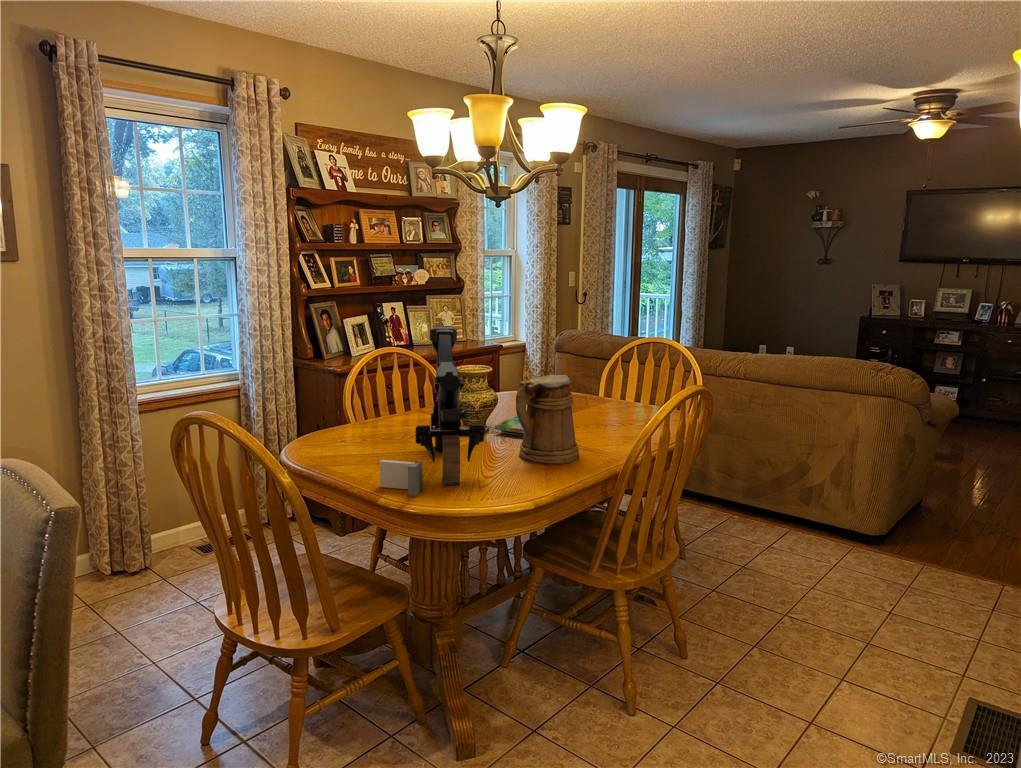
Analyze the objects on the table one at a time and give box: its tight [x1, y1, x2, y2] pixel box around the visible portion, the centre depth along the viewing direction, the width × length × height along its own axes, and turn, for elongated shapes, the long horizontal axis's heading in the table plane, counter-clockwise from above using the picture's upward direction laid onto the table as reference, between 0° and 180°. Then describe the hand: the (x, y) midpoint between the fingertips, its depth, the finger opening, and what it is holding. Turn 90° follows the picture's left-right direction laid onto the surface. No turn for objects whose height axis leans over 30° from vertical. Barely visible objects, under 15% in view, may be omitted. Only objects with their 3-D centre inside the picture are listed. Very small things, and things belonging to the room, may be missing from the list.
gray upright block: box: [407, 463, 421, 498], centre depth 181 cm, size 3×2×8 cm, turn 167°
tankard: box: [515, 374, 580, 466], centre depth 213 cm, size 18×24×25 cm
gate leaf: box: [379, 459, 424, 491], centre depth 186 cm, size 12×2×7 cm, turn 78°
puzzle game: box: [494, 414, 524, 437], centre depth 246 cm, size 12×5×20 cm
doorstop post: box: [441, 435, 461, 488], centre depth 189 cm, size 4×4×13 cm
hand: (451, 461), depth 188 cm, fingers open, 9 cm apart
